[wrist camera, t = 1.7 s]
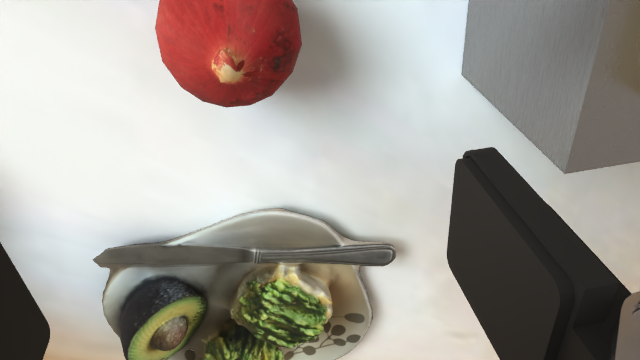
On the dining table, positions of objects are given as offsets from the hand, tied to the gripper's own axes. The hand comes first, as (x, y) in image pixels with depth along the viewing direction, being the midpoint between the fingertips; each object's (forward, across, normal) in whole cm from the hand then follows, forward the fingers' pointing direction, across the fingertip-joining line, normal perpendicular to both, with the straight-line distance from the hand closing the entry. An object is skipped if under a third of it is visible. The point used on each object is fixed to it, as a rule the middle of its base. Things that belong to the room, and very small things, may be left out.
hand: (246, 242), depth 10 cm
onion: (+16, 0, -1) cm, 16 cm away
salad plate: (+17, +3, +19) cm, 26 cm away
